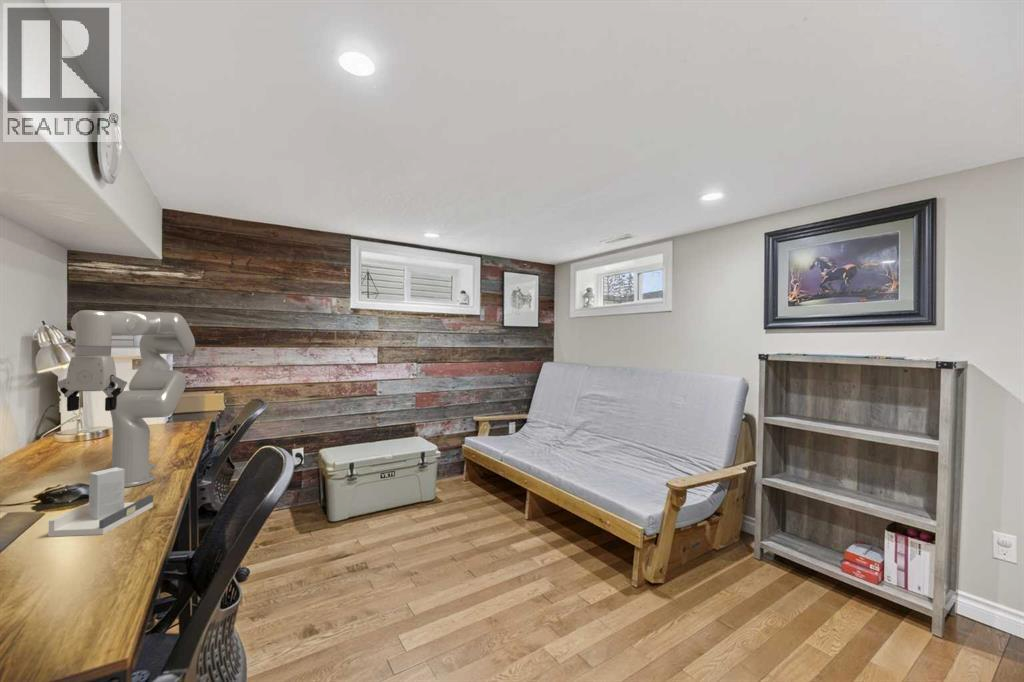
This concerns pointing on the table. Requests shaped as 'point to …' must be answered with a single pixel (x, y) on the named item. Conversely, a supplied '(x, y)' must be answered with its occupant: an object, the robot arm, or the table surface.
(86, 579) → the table surface
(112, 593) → the table surface
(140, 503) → the price rail
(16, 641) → the table surface
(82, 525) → the display shelf
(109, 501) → the skincare box
